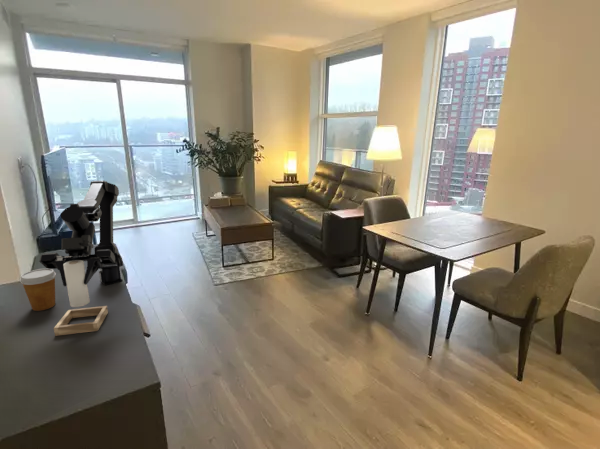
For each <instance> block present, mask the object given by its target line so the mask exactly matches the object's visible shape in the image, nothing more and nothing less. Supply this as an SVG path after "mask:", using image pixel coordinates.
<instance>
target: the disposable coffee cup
mask: <svg viewBox="0 0 600 449" xmlns="http://www.w3.org/2000/svg"><path fill="white" fill-rule="evenodd" d="M56 275H57V272H55V269H47V268H38V269H33V270H30V271H26V272H24V273H22V274H21V275H20V278H19V282H20V283H21V284H22V286H23V289H24V291H25V293H26V296H27V300H28V302H29V304H30V306H31V308H32V310H33V311H38V312H41V311H45V310H48V309H50V308H53V307H54V306H55V305H56Z"/></svg>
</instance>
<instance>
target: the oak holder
mask: <svg viewBox="0 0 600 449" xmlns="http://www.w3.org/2000/svg"><path fill="white" fill-rule="evenodd" d="M108 309H109V308H108V305H101V306H93V307H83V308H73V309H68V310H67V311H66V312H65V313H64V315H63V316H62V317H61V319H59V321H58V322H57V324H56V325H55V326H54V327H53V332H54V337H57V336H66V335H73V334H81V333H88V332H97V331H99V329H100V327H101V326H102V324H103V322H104V321H105V319H106V317H107V315H108V313H109V310H108ZM93 316H94V317H95V316H96V318H95V319H94V321H91V322H81V323H72V324H69V323H70V321H72V319H75V318H84V317H93Z"/></svg>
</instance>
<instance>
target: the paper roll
mask: <svg viewBox="0 0 600 449" xmlns="http://www.w3.org/2000/svg"><path fill="white" fill-rule="evenodd" d="M63 266H64V272H65V278H66V284H67V285H66V288H67V294H68V299H69V306H70V307H72V308H80V307H83V306H86V305H88V304H89V303H90V302H91V301H90V300H91V299H90V294H89V287H88V284H87V285H85V284H84V279H85V274H86V267H85V261H83V260H73V261H68V262H66V263H64V264H63Z"/></svg>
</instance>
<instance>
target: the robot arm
mask: <svg viewBox="0 0 600 449" xmlns="http://www.w3.org/2000/svg"><path fill="white" fill-rule="evenodd" d="M89 185H90V186H89V188H88V190H87V192H86V195H85V196H84V198H83V200H81V201H77V203H70V204H69V205H70V206H68V207H67V208H65V209H64V210H62V212H61V213H60V218H61V219H62V221H63V222H64V223H65V225H66V227H68V229H69V230H70V231H72V234H71V237H67V238H65V237H64V238H61V250H62V251H63V250H64V252H65V254H66V255H65V256H64V255H60V254H59V253H58V252H47V253H44V252H43V253H42V254H41V255H40V256H39V261H38V262H39V263H40V264H41V265H43V267H45V269H53V270H56V269H57V270H58V271H59V274H60V278H61V281H62V286H63V287H67V284H66V278H65V272H64V266H63V264H64V263H66V262H68V261H73V260H83V261H84V262H86V264H87V267H86V269H85V279H84V284H85V285H87V286H88V284H89V282H90V281H91V280H92V278H93V277H94V275H95V274H96V273H97V272H98V275H99V276H98V277H99V282H101V283H102V284H103V285H104V286H107V285H111V284H116V283H119V282H123V278H122V277H121V275H122V274H121V269H120V268H121V267H122V266H124V262H123V257H122V256H121V254H120V252H119V249H118V247H117V245H115V243H114V206H115V205H116V203H117V202H118V196H120V195H119V194H120V191H119V188H118V186H117V185H116V184H114V183H111V182H108V181H106V180H93V181H90V184H89ZM98 221H99V243H98V244H97V246H95V247H94V244H93V242H94V237H95V236H94V234H95V233H96V230H95V228H96V227H95V225H94V223H93V222H98ZM93 248H94V253H92V249H93Z"/></svg>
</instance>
